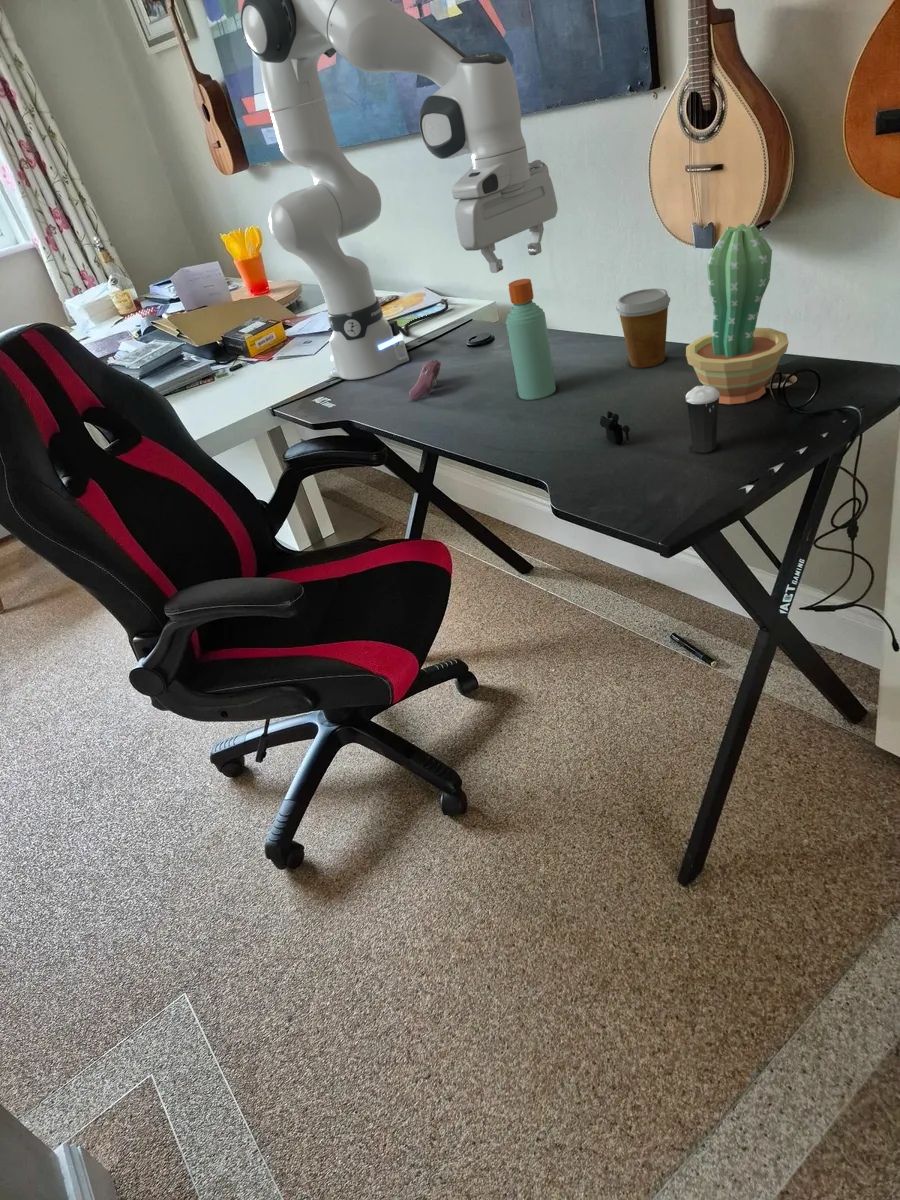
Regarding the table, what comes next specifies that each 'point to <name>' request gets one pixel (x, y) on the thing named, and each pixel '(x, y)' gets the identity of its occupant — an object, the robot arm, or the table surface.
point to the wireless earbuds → (614, 428)
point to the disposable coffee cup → (644, 325)
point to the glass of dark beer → (703, 417)
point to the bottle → (530, 351)
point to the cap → (521, 291)
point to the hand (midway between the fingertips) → (516, 262)
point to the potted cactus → (738, 320)
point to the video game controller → (425, 380)
